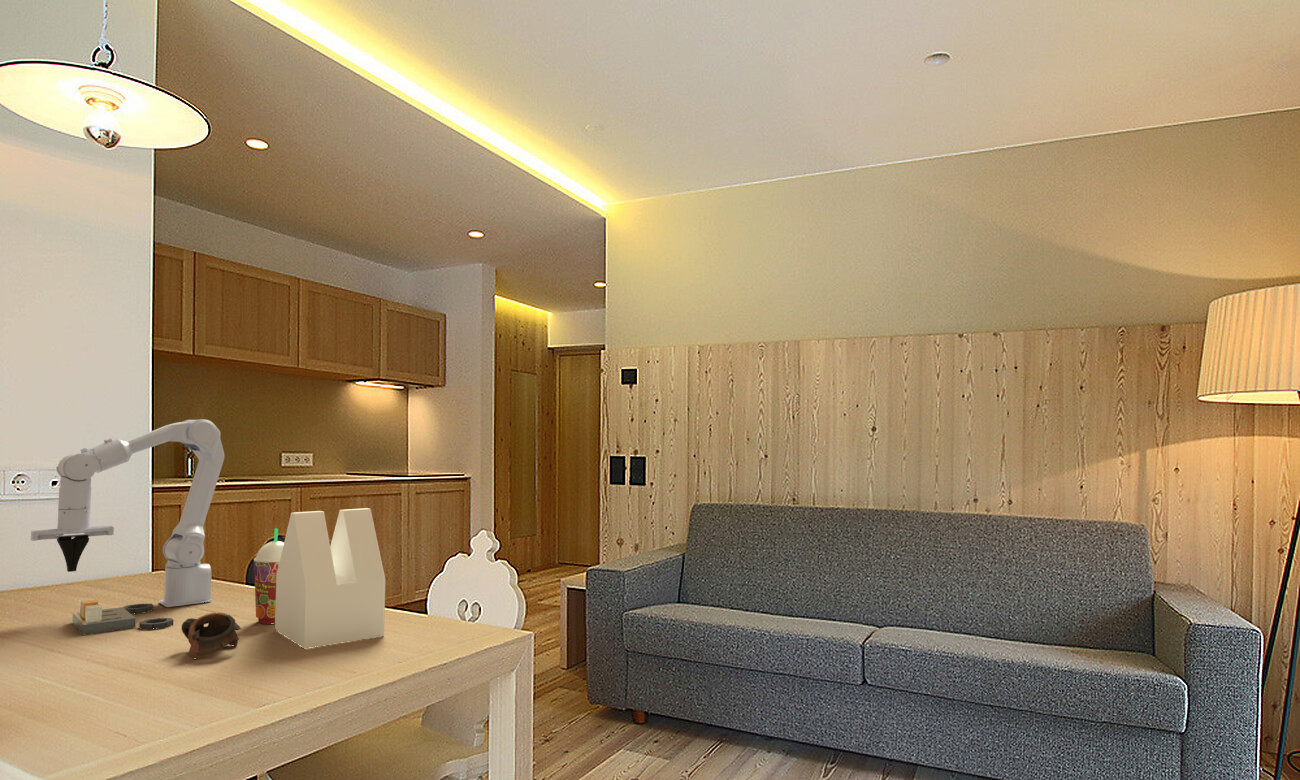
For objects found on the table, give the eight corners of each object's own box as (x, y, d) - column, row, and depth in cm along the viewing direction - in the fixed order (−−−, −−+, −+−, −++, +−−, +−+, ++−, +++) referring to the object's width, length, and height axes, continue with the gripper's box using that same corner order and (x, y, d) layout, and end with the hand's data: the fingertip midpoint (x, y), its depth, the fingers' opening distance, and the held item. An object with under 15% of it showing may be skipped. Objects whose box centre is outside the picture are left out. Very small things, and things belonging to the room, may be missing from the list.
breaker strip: (122, 616, 173) (123, 593, 173) (135, 627, 163) (136, 603, 163) (72, 622, 167) (73, 599, 167) (82, 635, 157) (83, 609, 157)
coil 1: (149, 607, 182) (149, 602, 182) (155, 611, 178) (155, 606, 178) (120, 611, 178) (120, 606, 178) (125, 615, 174) (125, 610, 174)
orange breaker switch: (94, 613, 165) (95, 599, 165) (97, 616, 163) (98, 601, 163) (81, 615, 164) (81, 601, 164) (83, 618, 161) (84, 603, 162)
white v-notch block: (384, 636, 157) (386, 512, 159) (304, 650, 147) (308, 516, 148) (349, 619, 172) (352, 505, 173) (274, 630, 162) (278, 509, 163)
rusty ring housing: (254, 648, 150) (251, 616, 146) (217, 684, 141) (213, 650, 138) (200, 629, 152) (196, 596, 148) (160, 663, 143) (155, 629, 140)
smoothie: (242, 623, 167) (245, 529, 168) (274, 615, 174) (277, 525, 176) (271, 627, 164) (274, 531, 165) (303, 619, 171) (305, 527, 172)
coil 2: (168, 621, 168) (169, 616, 168) (175, 626, 164) (175, 621, 164) (137, 626, 164) (137, 620, 164) (143, 631, 160) (143, 625, 160)
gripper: (34, 512, 164) (31, 577, 163) (117, 507, 174) (114, 569, 173) (31, 509, 169) (27, 572, 168) (111, 505, 179) (108, 565, 178)
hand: (71, 570), depth 171 cm, fingers closed
